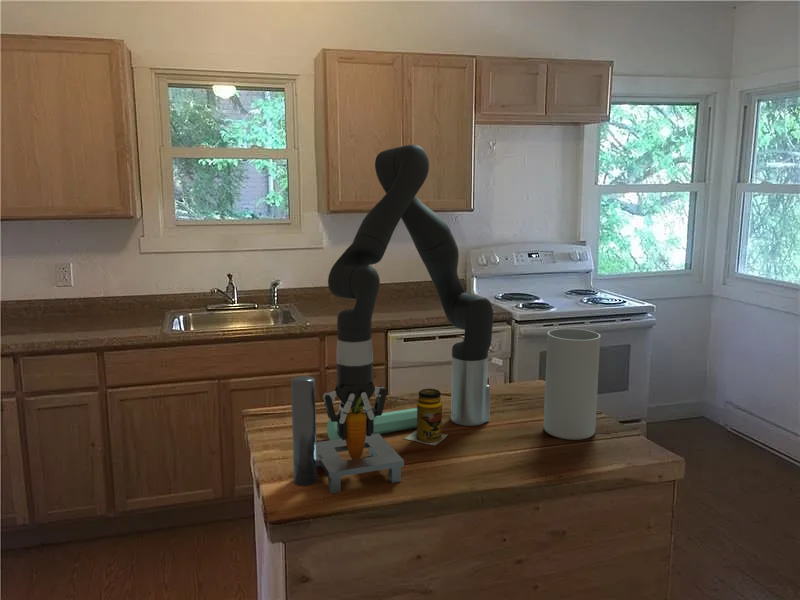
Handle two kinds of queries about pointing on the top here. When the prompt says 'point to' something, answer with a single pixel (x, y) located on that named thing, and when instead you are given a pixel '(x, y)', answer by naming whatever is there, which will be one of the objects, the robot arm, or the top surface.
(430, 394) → the condiment
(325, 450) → the square hole stand
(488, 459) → the top surface
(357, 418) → the carrot
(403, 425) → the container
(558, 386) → the cylinder vase
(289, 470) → the top surface
